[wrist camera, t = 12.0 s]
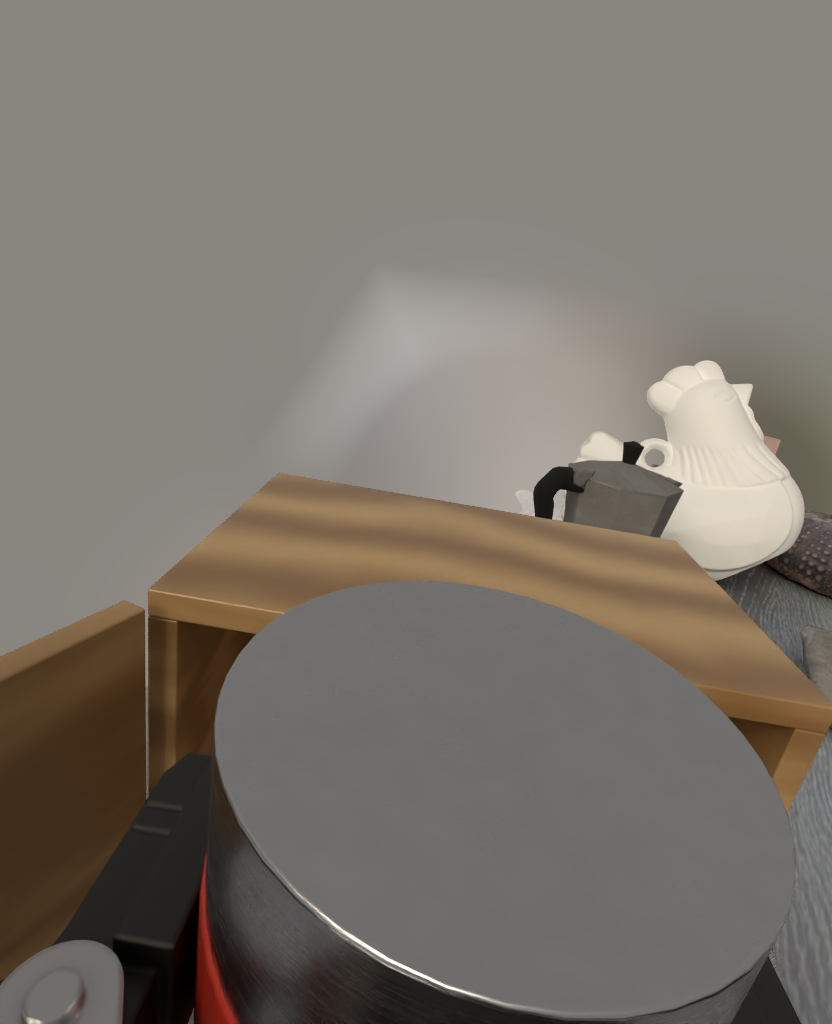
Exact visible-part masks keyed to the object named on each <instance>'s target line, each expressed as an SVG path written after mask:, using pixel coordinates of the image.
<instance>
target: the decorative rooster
mask: <svg viewBox="0 0 832 1024" xmlns="http://www.w3.org/2000/svg"><path fill="white" fill-rule="evenodd" d="M752 389H753V385H752V384H729V383H727V382H726V380H725V378H724V375H723V373H722V370H721V368H720V367H719V365H718V364H717V363H715V362H713V361H708V360H707V361H701V362H699V363H697V364H696V365H695V366H680V367H677V368H674V369H672V370H671V371H669V372H668V373H667V374H666V375H665V376H664V378H663V380H662V381H660V382H657V383H655V384H653V385H652V386H651V387H650V388H649V390H648V392H647V402H648V404H649V406H650V407H651V408H652V409H653V410H654V411H655V412H656V413H658V414H659V415H660V416H662V417H663V419H664V424H665V428H666V433H667V437H668V442H666V441H664V440H662V439H656V438H653V439H648V440H645V441H643V442H641V443H640V445H642V446H644V449H643V451H642V453H641V455H640V457H639V459H638V460H637V462H636V465H638V466H641V467H643V468H645V469H647V470H650V471H653V472H655V473H658V474H661V475H663V476H665V477H669V478H671V479H673V480H676V481H678V482H681V483H682V485H681V486H680V487H679V488H681V489H682V490H684V492H683V494H682V496H681V498H680V500H679V501H678V503H677V505H676V507H675V509H674V511H673V513H672V515H671V517H670V519H669V521H668V523H667V525H666V527H665V529H664V531H663V533H662V535H661V536H660V538H662V539H668V540H674V541H677V542H678V544H679V545H680V546H681V547H682V548H683V549H684V550H685V551H686V552H687V553H688V554H689V555H690V556H691V557H692V558H693V559H694V560H695V561H696V562H697V563H698V564H699V565H700V566H701V567H702V568H703V569H704V570H705V572H706V573H707V574H708V575H709V576H710V577H711V578H712V579H713V580H714V581H718V580H721V579H724V578H726V577H729V576H732V575H734V574H737V573H739V572H742V571H744V570H747V569H749V568H751V567H754V566H756V565H758V564H761V563H763V562H765V561H767V560H770V559H772V558H774V557H776V556H778V555H780V554H782V553H784V552H785V551H787V550H788V549H790V548H791V547H792V545H793V544H794V543H795V541H796V539H797V538H798V536H799V534H800V532H801V529H802V526H803V522H804V513H805V511H804V501H803V498H802V494H801V492H800V490H799V488H798V486H797V484H796V483H795V481H794V480H793V479H792V478H791V476H790V472H789V471H788V470H787V468H786V467H785V466H784V465H783V464H782V463H781V462H780V461H779V459H778V458H777V457H776V456H775V455H774V454H773V453H772V452H771V451H770V449H769V448H768V447H767V446H766V445H765V444H764V435H763V433H762V431H761V429H760V427H759V425H758V424H757V422H756V421H755V419H754V413H753V411H752V409H751V408H750V407H749V406H748V404H749V400H750V396H751V393H752ZM623 445H624V444H622V443H621V442H620V441H618V440H617V439H615V438H614V437H612V436H611V435H609V434H608V433H606V432H602V431H598V432H595V433H592V434H591V435H590V436H589V437H588V439H587V441H586V442H584V443H583V444H582V445H581V446H580V447H579V449H578V458H577V459H576V460H574V462H572V463H576V462H581V461H587V460H597V461H622V458H623ZM652 449H657V450H660V451H662V452H663V454H664V456H665V460H664V463H663V464H662V465H661V466H659V467H655V468H653V467H649V466H648V465H647V464H646V463H645V460H644V458H645V455H646V453H647V452H648V451H649V450H652ZM566 491H567V490H563V496H564V498H565V500H566ZM564 511H565V503H564V505H563V506H562V510H561V517H562V519H563V521H564Z"/></svg>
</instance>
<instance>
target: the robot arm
mask: <svg viewBox="0 0 832 1024" xmlns="http://www.w3.org/2000/svg"><path fill="white" fill-rule="evenodd" d="M211 760H212V756H209V755H204V754H198V753H192V752H190V753H188V754H187V755H186V756H185V757H183V758H182V759H181V760H179V761H178V762H177V763H176V764H174V765H173V766H172V767H171V768H169V769H168V770H167V771H166V772H164V773H163V775H162V776H161V778H160V779H159V781H158V782H157V784H156V786H155V787H154V789H153V790H152V792H151V794H150V795H149V797H148V798H147V800H146V803H145V806H144V807H142V808H141V809H140V811H139V813H138V814H137V816H136V817H135V819H134V821H133V822H132V824H131V827H130V830H129V831H127V832H126V833H125V835H124V836H123V838H122V840H121V841H120V843H119V844H118V846H117V848H116V849H115V851H114V852H113V854H112V855H111V857H110V859H109V860H108V862H107V863H106V865H105V867H104V868H103V870H102V871H101V873H100V874H99V876H98V878H97V879H96V881H95V882H94V884H93V886H92V887H91V889H90V890H89V892H88V893H87V895H86V897H85V898H84V900H83V901H82V903H81V905H80V906H79V908H78V909H77V911H76V913H75V914H74V916H73V917H72V919H71V920H70V922H69V924H68V925H67V927H66V928H65V929H64V931H63V932H62V934H61V935H60V936H59V937H58V939H57V940H56V941H55V942H54V943H53V944H52V945H51V946H50V947H49V948H46V949H44V950H42V951H40V952H38V953H37V954H35V955H34V956H32V957H30V958H29V959H27V960H26V961H25V962H23V963H22V964H21V965H20V966H18V967H17V968H16V969H15V970H14V971H13V972H12V973H11V974H10V975H9V976H8V977H7V978H5V979H3V980H1V981H0V1024H188V1022H189V1019H190V1016H191V1014H192V1011H193V1008H194V1004H195V983H196V962H197V941H198V920H199V899H200V887H201V879H202V872H203V865H204V858H205V854H206V851H207V837H208V818H209V799H210V779H211ZM731 1024H801V1023H800V1021H799V1018H798V1016H797V1014H796V1012H795V1010H794V1008H793V1006H792V1004H791V1002H790V1000H789V998H788V996H787V994H786V992H785V990H784V988H783V986H782V984H781V982H780V980H779V978H778V976H777V974H776V972H775V969H774V967H773V965H772V963H771V961H770V959H769V957H767V959H766V961H765V962H764V964H763V966H762V968H761V970H760V971H759V973H758V975H757V977H756V979H755V981H754V982H753V984H752V986H751V988H750V990H749V992H748V993H747V995H746V997H745V999H744V1001H743V1003H742V1004H741V1006H740V1008H739V1010H738V1012H737V1014H736V1015H735V1017H734V1019H733V1021H732V1023H731Z"/></svg>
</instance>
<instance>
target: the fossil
mask: <svg viewBox="0 0 832 1024" xmlns="http://www.w3.org/2000/svg"><path fill="white" fill-rule="evenodd" d="M800 636H801V639H802V643H803V657H804V661H803V662H804V669H805V670H806V672H807V674H808V678H809V679H810V680H811V681H812V682H813V683H814V685H815V686H816V687H817V688H818V689H819V690H820V691H821V692H822V693H823V694H824V695H825V696H826V697H827V698H828V699H829V700H830V701H831V702H832V631H828V630H824V629H821V628H817V627H813V626H810V625H806V626H805V627H804V628H803V629H802V630H801V631H800ZM831 726H832V723H831Z"/></svg>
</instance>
